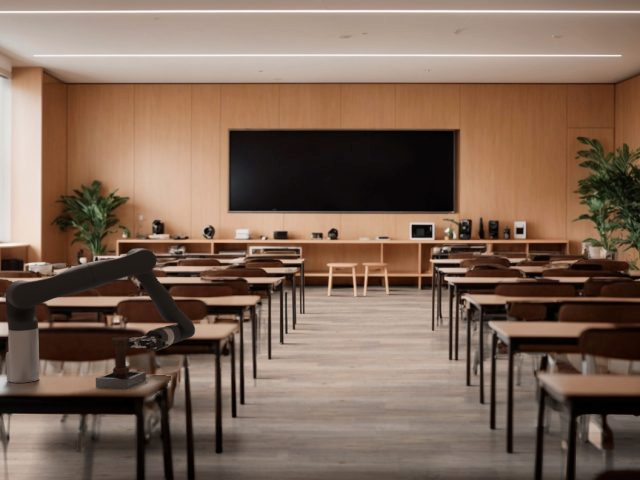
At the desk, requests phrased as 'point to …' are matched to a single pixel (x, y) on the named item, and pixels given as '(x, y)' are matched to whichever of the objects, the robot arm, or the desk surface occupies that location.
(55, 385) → the desk surface
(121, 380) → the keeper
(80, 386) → the desk surface
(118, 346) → the bolt
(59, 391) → the desk surface
